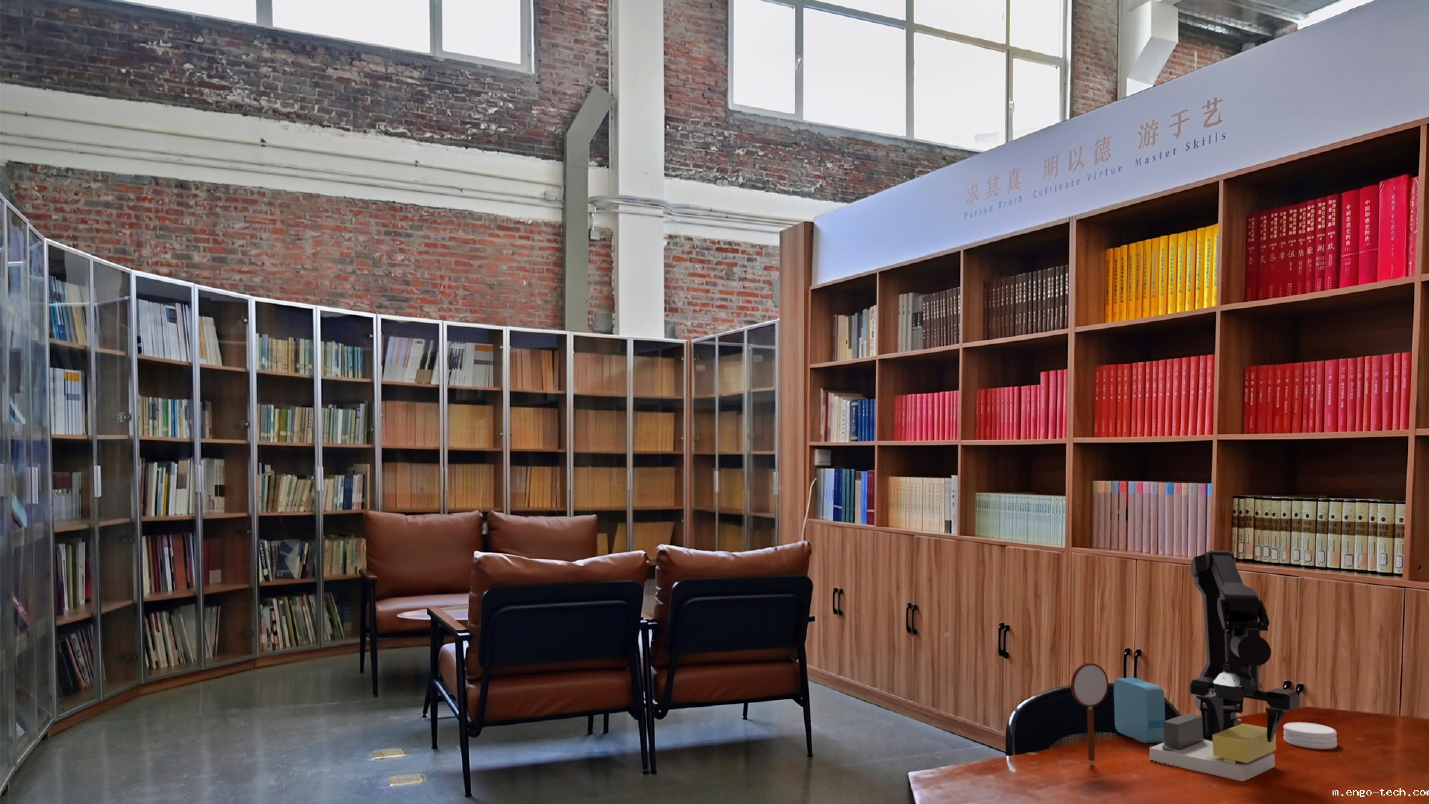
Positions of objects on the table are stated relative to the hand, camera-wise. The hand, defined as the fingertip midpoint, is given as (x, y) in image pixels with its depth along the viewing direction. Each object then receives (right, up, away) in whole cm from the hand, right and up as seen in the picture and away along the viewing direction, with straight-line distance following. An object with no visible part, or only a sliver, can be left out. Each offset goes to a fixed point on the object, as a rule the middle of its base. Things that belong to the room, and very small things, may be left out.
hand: (1244, 737), depth 195 cm
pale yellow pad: (0, -3, 0) cm, 3 cm away
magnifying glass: (-29, -6, +2) cm, 30 cm away
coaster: (+24, -8, +19) cm, 32 cm away
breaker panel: (-5, -6, +3) cm, 9 cm away
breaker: (-8, -5, +9) cm, 13 cm away
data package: (-11, -8, +23) cm, 27 cm away
